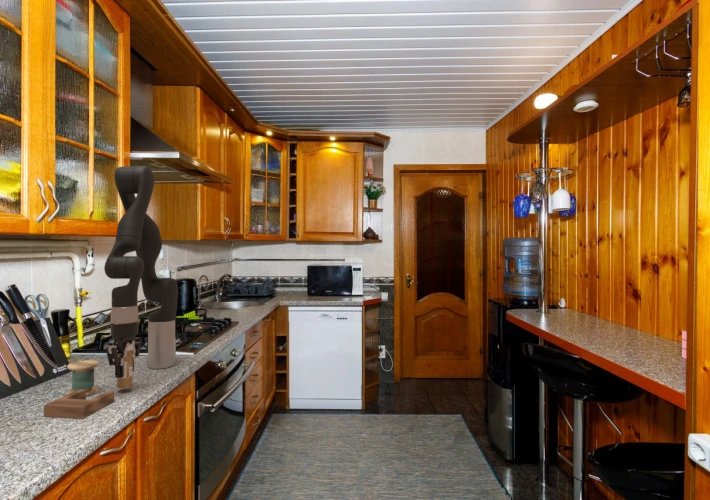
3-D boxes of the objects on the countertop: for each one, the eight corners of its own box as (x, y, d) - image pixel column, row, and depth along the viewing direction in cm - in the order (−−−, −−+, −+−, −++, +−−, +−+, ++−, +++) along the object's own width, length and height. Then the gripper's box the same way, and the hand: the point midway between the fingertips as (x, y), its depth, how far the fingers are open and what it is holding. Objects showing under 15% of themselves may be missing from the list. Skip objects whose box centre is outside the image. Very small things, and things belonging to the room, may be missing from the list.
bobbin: (81, 387, 129) (81, 359, 128) (104, 389, 128) (104, 360, 128) (60, 397, 121) (60, 366, 121) (85, 398, 120) (85, 368, 120)
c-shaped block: (79, 399, 119) (79, 389, 119) (114, 401, 118) (114, 391, 118) (43, 416, 107) (43, 405, 107) (82, 418, 106) (82, 407, 106)
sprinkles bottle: (136, 385, 127) (136, 343, 127) (121, 390, 123) (122, 346, 123) (127, 383, 129) (127, 341, 129) (112, 387, 125) (113, 344, 125)
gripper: (128, 315, 133) (128, 367, 134) (96, 324, 119) (96, 382, 120) (149, 316, 133) (149, 368, 133) (120, 325, 118) (120, 383, 119)
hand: (124, 374), depth 126 cm, fingers closed on sprinkles bottle, 4 cm apart
